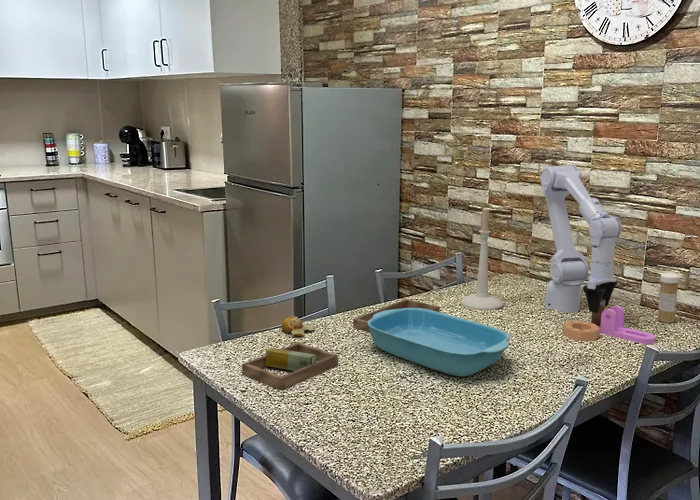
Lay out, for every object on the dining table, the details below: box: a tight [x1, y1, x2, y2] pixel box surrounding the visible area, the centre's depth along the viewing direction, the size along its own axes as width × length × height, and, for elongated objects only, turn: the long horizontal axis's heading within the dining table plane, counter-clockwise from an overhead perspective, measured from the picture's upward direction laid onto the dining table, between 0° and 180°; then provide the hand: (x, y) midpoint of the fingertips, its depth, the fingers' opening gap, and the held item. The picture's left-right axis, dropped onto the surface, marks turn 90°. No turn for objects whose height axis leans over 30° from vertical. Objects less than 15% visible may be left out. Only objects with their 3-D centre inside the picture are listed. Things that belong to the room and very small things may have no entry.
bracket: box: [599, 305, 656, 345], centre depth 167 cm, size 13×6×7 cm, turn 43°
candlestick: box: [460, 208, 504, 311], centre depth 193 cm, size 13×13×30 cm
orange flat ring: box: [561, 320, 601, 342], centre depth 169 cm, size 9×9×2 cm
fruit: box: [280, 315, 316, 337], centre depth 171 cm, size 8×8×4 cm
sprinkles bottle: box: [657, 272, 680, 324], centre depth 178 cm, size 5×5×14 cm
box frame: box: [241, 342, 339, 391], centre depth 146 cm, size 13×18×2 cm
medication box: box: [265, 347, 317, 372], centre depth 146 cm, size 12×3×4 cm, turn 69°
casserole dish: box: [368, 308, 511, 377], centre depth 156 cm, size 37×22×7 cm, turn 46°
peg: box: [590, 299, 606, 327], centre depth 177 cm, size 3×3×7 cm
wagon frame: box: [352, 298, 441, 333], centre depth 180 cm, size 12×25×2 cm, turn 139°
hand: (598, 308), depth 177 cm, fingers open, 7 cm apart
